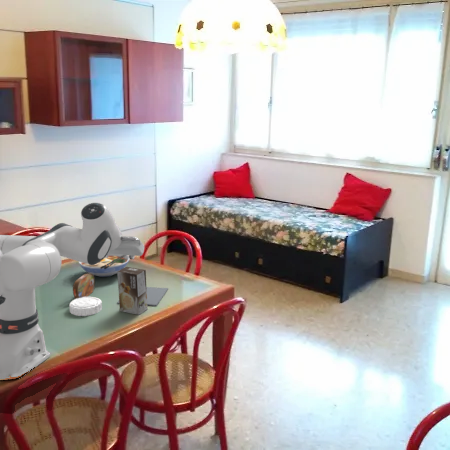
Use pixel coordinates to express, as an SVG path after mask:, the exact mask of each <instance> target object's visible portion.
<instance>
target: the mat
mask: <svg viewBox="0 0 450 450" xmlns="http://www.w3.org/2000/svg"><path fill="white" fill-rule="evenodd" d="M146 289H147V307H148V306H149V307H158V305H160V303H161V301H162V299H163V298H164V297H165V295H166V293H167V292H168V290H169V288H168V287H157V286H156V287H152V286H146ZM116 304H117V305H119V300H118V301H117V303H116Z"/></svg>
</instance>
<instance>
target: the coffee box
mask: <svg viewBox="0 0 450 450" xmlns="http://www.w3.org/2000/svg"><path fill="white" fill-rule="evenodd" d="M116 274H117V286H118V289H117V290H118V301H119V304H118V305H119V312H121V313H122V312H124V313H129V314H133V315H138V316H139V315H141V314H143V313H144V312H146V311H147V310H148V306H147V289H146V287H147V271H146V269H143V268H137V267H130V266H125V267H124V268H123V269H121V270H120V271H118V272H117V273H116Z"/></svg>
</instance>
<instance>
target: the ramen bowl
mask: <svg viewBox="0 0 450 450" xmlns="http://www.w3.org/2000/svg"><path fill="white" fill-rule="evenodd" d="M130 260H131V259H130V258H129V255H115V254H109V255H108V258H104V259H103V260H101V261H100V262H99V263H97V264H95V265H90V264H86V263H82V262H79V261H78V265H80V267H81V268H82V269H83V270H84V271H85V272H86V273H87V274H90V273H91V274H93V276H97V277H100V278H107V277H112V276H114V275H116V274H118V273H117V272H118V271H120V270H121V269H123V268H125V267H127V265H128V264H129V261H130Z"/></svg>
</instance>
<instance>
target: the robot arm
mask: <svg viewBox="0 0 450 450" xmlns="http://www.w3.org/2000/svg"><path fill="white" fill-rule="evenodd" d="M80 216H81V217H80V218H81V220H82V228H79V227H75V226H72V225H69V224H67V223H65V222H61V223H58V224H55V225H54V226H53V227H51V228H50V229H49V230H48V231H46V232H44V233H41V234H39V235H37V236H34V235H33V236H31V235H30V236H29V235H13V234H12V235H8V234H0V379H5V378H10V377H9V376H11V377H18V376H21V375H22V374H24V373H26V372H28V371H29V372H30V370H31V369H32V370H34V369H35V368H36V367H37V366H39V365H40V364H41V363H43V362H44V361H46V360H47V359H48V358H50V357H51V353H50V351H48V350H47V346H46V342H45V336H44V331H43V330H42V329H41V327H40V325H39V320H40V319H39V317H40V316H39V312H38V309H37V307H36V288H38V287H40V286H42V285H46V284H48V283H50V282H51V281H53V280H54V279H55V278H56V277H57V276H58V275H59V274H60V271H61V269H62V257H63V258H66V259H69V260H73V261H76V262H78V263H79V262H82V263H86V264H90V265H95V264H97V263H99V262H100V261H101V260H103V259H104V258H108V255H109V254H115V255H128V256H129V258H130V259H129V260H134V259H135V258H136V257H137V256H138V257H141V256H143V255H144V252H145V245H144V243H143V242H142V241H141V239H140V238H139V237H137V236H130V235H129V236H128V235H123V233H122V231H121V229H120V228H119V225H118V224H117V222H116V220H115V218H114V216H113V214H112V212H111V211H110V209H108V207H107V206H105V204H103V203H100V202H92V203H88V204H86V205H84V206H83V208H82V209H81V210H80ZM34 367H35V368H34ZM33 368H34V369H33ZM32 370H31V371H32ZM29 372H28V373H29Z"/></svg>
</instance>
